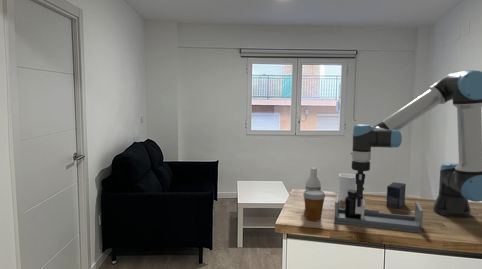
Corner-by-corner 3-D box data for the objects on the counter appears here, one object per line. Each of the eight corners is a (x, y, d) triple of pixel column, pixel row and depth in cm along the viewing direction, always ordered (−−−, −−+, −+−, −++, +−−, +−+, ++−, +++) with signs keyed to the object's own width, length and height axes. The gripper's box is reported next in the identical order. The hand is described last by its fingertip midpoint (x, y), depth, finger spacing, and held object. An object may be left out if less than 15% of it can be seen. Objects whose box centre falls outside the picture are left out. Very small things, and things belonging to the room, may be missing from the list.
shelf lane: (416, 221, 162) (418, 201, 161) (421, 232, 149) (423, 211, 148) (336, 212, 172) (337, 194, 171) (334, 222, 159) (335, 202, 158)
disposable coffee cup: (328, 219, 163) (329, 192, 162) (315, 224, 157) (316, 196, 156) (311, 213, 170) (311, 188, 169) (297, 218, 164) (298, 191, 162)
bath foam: (318, 212, 172) (319, 170, 170) (303, 210, 175) (304, 168, 172) (321, 208, 178) (322, 167, 176) (306, 206, 181) (308, 165, 179)
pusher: (378, 215, 165) (378, 200, 164) (379, 223, 155) (379, 207, 155) (360, 214, 167) (361, 199, 166) (360, 221, 158) (361, 205, 157)
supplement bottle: (359, 215, 166) (360, 189, 165) (362, 220, 159) (363, 193, 158) (343, 214, 167) (344, 188, 166) (345, 219, 160) (346, 192, 159)
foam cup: (344, 196, 198) (345, 172, 197) (360, 200, 191) (361, 175, 190) (333, 199, 192) (334, 175, 191) (349, 204, 185) (350, 178, 184)
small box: (391, 201, 190) (392, 181, 189) (405, 204, 186) (406, 183, 185) (385, 206, 182) (386, 185, 180) (399, 209, 178) (400, 188, 177)
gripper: (352, 155, 172) (350, 200, 175) (351, 165, 149) (348, 217, 151) (369, 156, 170) (367, 201, 173) (371, 166, 147) (368, 219, 149)
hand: (358, 208), depth 162 cm, fingers open, 13 cm apart
